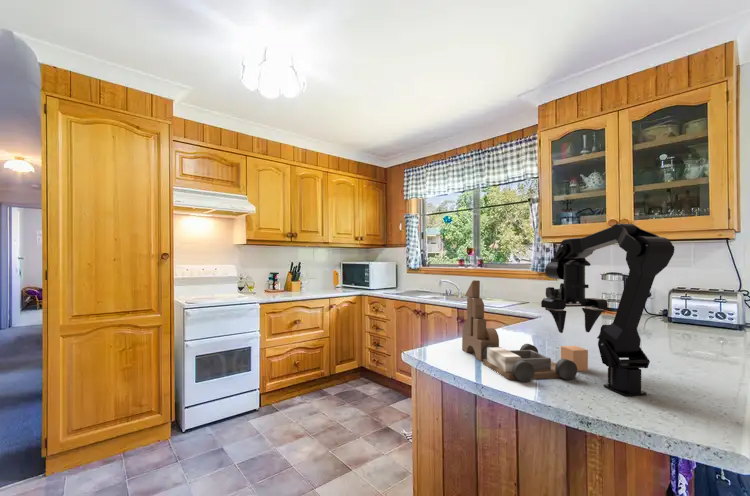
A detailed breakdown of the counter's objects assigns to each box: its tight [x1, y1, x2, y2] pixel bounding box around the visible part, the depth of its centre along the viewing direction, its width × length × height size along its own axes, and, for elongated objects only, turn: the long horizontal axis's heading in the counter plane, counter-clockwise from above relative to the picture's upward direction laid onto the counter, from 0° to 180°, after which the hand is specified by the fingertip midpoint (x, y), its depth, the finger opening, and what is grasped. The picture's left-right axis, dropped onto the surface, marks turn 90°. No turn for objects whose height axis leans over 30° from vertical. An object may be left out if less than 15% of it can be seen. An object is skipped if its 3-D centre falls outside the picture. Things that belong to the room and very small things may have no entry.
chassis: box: [482, 343, 578, 383], centre depth 102 cm, size 18×20×6 cm
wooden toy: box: [461, 280, 500, 362], centre depth 118 cm, size 16×7×25 cm, turn 11°
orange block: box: [560, 345, 589, 372], centre depth 105 cm, size 5×5×6 cm
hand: (574, 332), depth 105 cm, fingers open, 9 cm apart
